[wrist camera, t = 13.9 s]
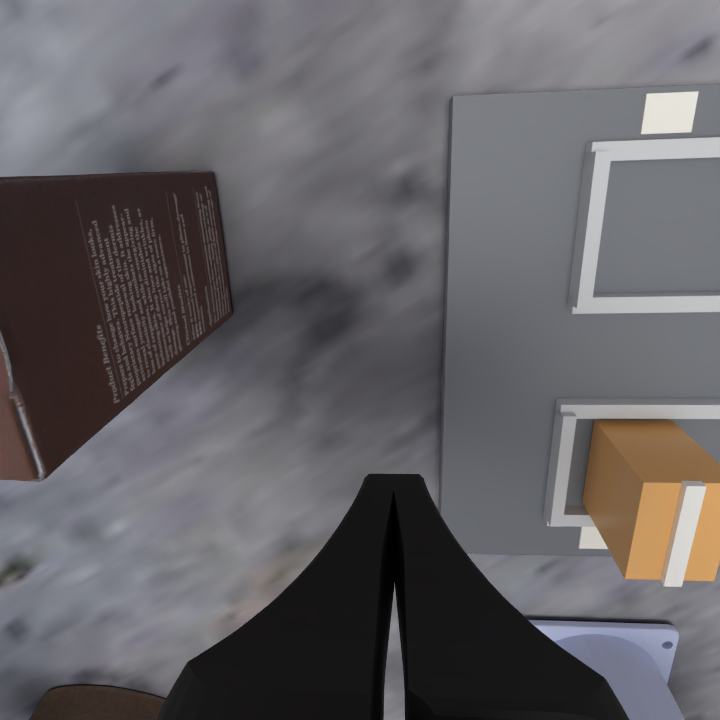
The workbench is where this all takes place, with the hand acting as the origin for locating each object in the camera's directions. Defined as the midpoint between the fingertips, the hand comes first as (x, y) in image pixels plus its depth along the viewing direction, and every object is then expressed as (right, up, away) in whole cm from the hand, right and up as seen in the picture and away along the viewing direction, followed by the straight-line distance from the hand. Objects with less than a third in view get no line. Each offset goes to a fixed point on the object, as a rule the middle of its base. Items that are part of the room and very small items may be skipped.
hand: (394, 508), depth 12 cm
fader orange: (+10, -1, +9) cm, 13 cm away
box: (-8, +8, +8) cm, 14 cm away
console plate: (+14, +4, +8) cm, 16 cm away
